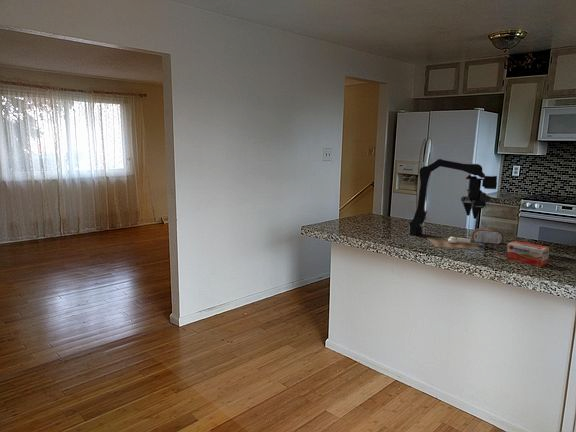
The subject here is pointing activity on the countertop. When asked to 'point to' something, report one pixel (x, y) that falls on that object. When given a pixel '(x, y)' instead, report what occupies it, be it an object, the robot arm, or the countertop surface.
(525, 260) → the medicine box
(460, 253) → the countertop surface
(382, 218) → the countertop surface
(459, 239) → the peg
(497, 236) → the tin
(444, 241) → the brown board
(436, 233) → the countertop surface
